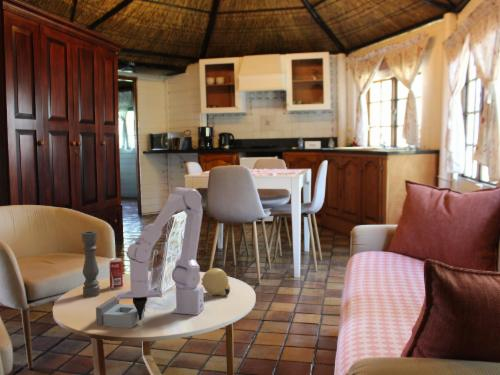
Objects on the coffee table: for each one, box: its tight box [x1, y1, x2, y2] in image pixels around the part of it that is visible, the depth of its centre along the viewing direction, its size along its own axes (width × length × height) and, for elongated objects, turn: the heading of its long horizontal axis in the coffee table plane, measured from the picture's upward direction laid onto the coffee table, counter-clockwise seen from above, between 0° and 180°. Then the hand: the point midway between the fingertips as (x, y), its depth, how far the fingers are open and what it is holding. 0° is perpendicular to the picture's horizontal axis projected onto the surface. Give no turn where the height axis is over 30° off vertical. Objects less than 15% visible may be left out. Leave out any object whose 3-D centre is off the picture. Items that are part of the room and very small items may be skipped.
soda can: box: [108, 257, 124, 290], centre depth 203 cm, size 5×5×12 cm
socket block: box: [103, 303, 145, 329], centre depth 165 cm, size 10×10×4 cm
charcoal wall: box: [95, 296, 120, 327], centre depth 167 cm, size 2×12×6 cm, turn 167°
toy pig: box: [200, 267, 231, 297], centre depth 194 cm, size 10×12×11 cm
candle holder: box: [81, 230, 101, 298], centre depth 193 cm, size 6×6×25 cm
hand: (140, 319), depth 163 cm, fingers closed, pressing on socket block
